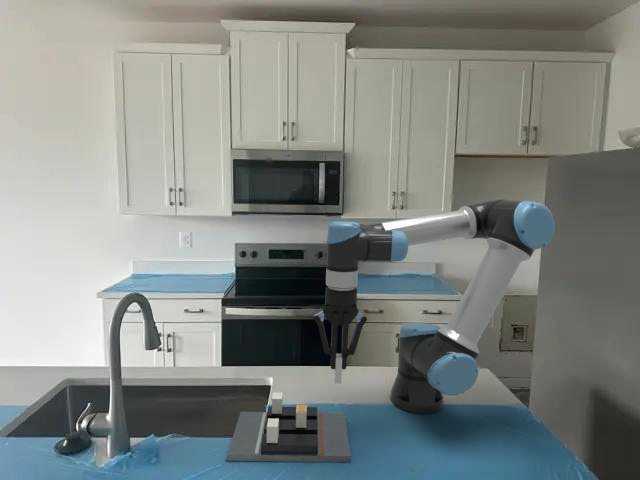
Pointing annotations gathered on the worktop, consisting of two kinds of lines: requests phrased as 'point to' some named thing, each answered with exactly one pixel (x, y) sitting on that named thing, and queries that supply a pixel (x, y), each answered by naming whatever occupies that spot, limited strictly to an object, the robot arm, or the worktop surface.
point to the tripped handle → (301, 416)
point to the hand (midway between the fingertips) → (337, 381)
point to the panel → (251, 435)
